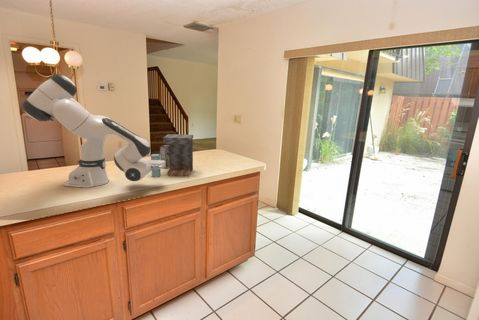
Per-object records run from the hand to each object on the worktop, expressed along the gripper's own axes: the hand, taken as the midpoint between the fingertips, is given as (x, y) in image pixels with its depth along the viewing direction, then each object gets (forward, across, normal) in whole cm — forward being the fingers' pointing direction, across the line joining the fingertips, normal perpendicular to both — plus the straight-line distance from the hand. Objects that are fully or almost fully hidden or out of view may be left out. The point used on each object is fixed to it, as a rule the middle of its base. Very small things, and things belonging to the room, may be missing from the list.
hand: (150, 161), depth 149 cm
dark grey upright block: (+18, -14, +13) cm, 26 cm away
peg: (+12, 0, +13) cm, 17 cm away
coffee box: (+35, -2, +13) cm, 37 cm away
